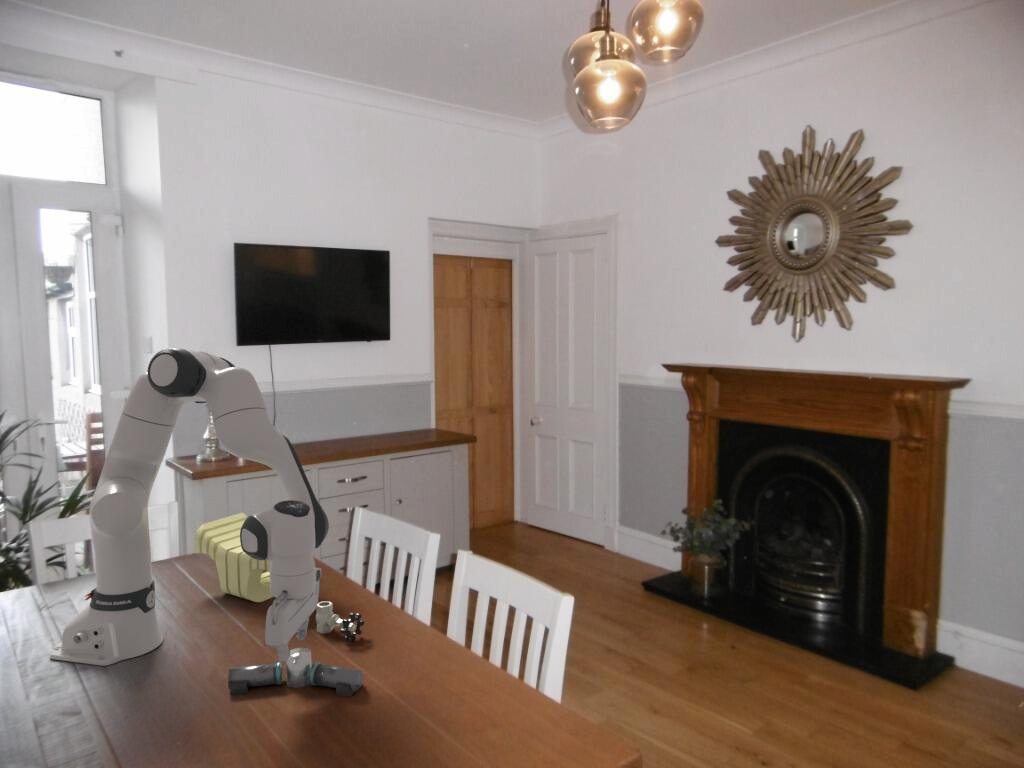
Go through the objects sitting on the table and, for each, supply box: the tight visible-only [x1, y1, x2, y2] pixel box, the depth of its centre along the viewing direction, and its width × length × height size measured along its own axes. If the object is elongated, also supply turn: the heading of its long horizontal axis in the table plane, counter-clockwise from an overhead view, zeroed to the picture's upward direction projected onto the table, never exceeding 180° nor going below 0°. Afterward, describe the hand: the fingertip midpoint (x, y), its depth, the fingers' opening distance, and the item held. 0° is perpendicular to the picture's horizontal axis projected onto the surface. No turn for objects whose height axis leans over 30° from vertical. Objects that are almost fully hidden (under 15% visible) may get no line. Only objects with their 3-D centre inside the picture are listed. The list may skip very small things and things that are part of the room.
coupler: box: [285, 647, 313, 689], centre depth 148 cm, size 5×5×6 cm
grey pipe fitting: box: [227, 661, 284, 696], centre depth 146 cm, size 10×5×4 cm, turn 103°
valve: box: [315, 600, 365, 642], centre depth 169 cm, size 7×7×12 cm
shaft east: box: [308, 661, 364, 698], centre depth 146 cm, size 10×5×4 cm, turn 73°
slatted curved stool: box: [194, 511, 275, 603], centre depth 195 cm, size 30×16×18 cm, turn 60°
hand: (293, 648), depth 147 cm, fingers open, 8 cm apart
